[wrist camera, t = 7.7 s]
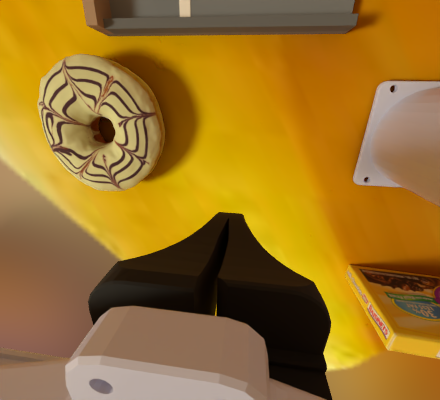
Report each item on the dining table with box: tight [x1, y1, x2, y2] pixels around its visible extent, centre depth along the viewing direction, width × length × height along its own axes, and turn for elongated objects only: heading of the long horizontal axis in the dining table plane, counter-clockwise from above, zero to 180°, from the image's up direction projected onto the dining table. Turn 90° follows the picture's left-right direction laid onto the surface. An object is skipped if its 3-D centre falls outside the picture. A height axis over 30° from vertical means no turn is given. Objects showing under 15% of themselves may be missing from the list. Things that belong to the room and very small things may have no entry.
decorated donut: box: [38, 54, 165, 191], centre depth 19 cm, size 10×11×4 cm
